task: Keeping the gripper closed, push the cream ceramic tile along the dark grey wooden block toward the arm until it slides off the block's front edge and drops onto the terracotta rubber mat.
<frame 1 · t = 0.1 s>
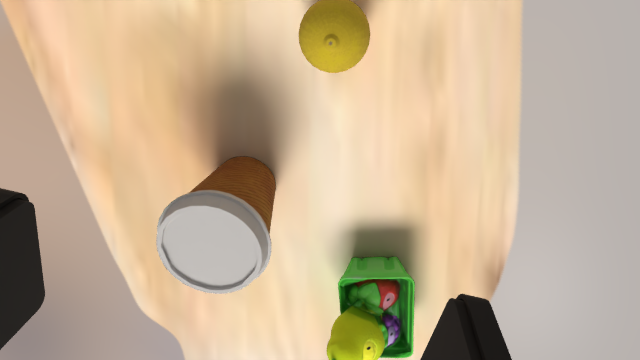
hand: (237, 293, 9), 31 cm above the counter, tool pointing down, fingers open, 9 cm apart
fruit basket: (370, 286, 49), on the counter
lemon: (337, 29, 36), on the counter
disposable coffee cup: (246, 182, 44), on the counter
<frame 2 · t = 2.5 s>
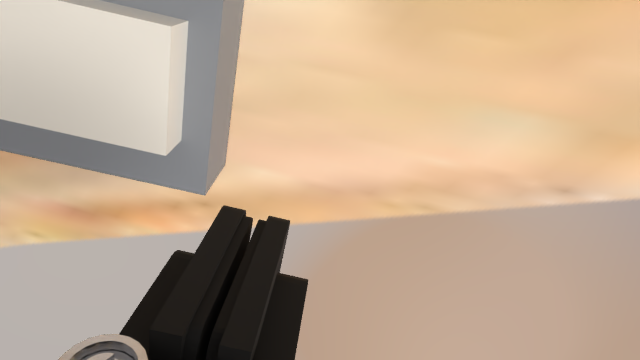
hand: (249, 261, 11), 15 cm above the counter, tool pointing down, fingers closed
grey block: (97, 41, 24), on the counter
tile: (93, 63, 20), point 4 cm above the counter, touching grey block
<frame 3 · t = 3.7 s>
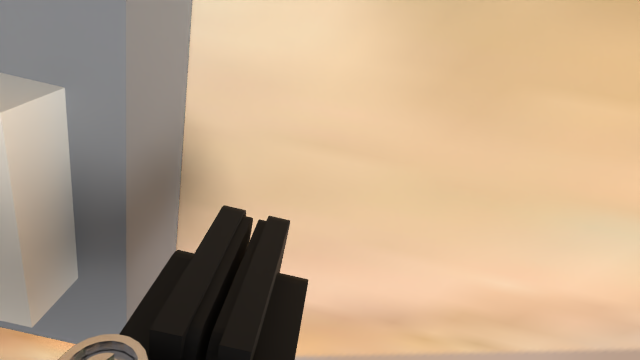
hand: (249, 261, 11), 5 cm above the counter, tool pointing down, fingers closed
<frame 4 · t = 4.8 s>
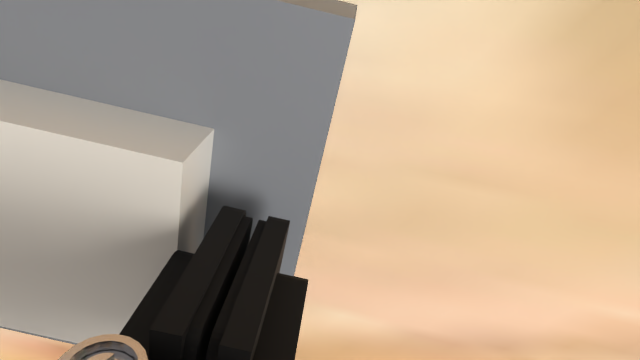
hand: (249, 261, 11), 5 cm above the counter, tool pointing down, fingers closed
grey block: (95, 130, 15), on the counter
tile: (42, 193, 11), point 4 cm above the counter, touching grey block, gripper
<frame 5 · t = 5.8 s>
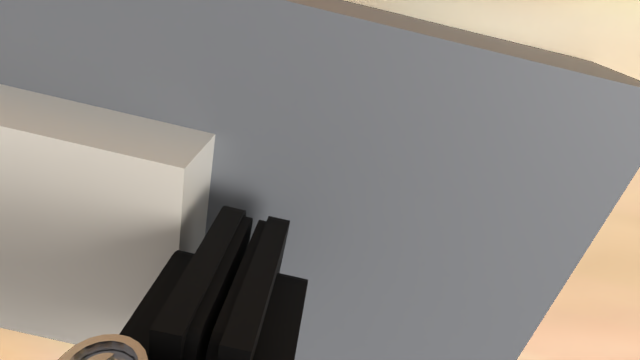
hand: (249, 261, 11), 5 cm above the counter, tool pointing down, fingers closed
grey block: (292, 174, 15), on the counter
tile: (45, 196, 12), point 4 cm above the counter, touching grey block, gripper
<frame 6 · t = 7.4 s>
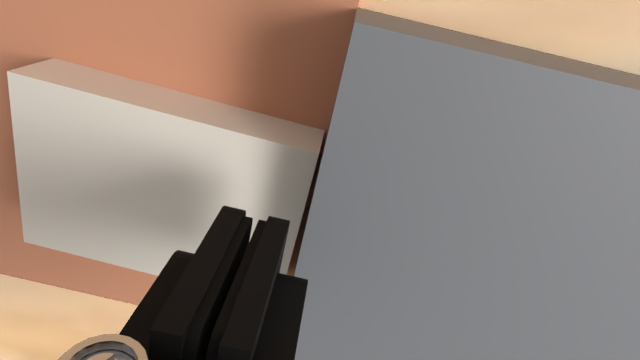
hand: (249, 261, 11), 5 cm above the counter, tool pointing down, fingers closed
grey block: (530, 233, 15), on the counter
mat: (138, 141, 15), on the counter
tile: (182, 174, 15), resting on mat
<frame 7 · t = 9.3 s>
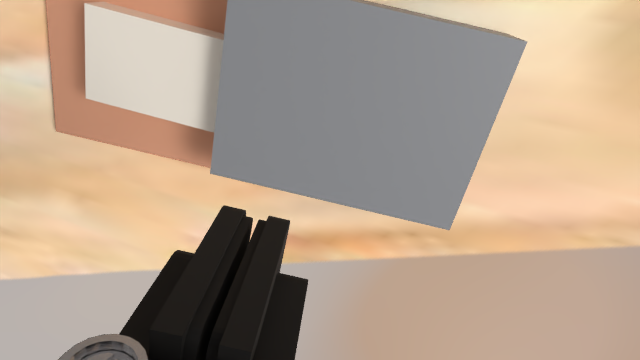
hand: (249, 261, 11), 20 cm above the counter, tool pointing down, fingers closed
grey block: (353, 97, 28), on the counter
mat: (144, 48, 28), on the counter
tile: (167, 65, 28), resting on mat
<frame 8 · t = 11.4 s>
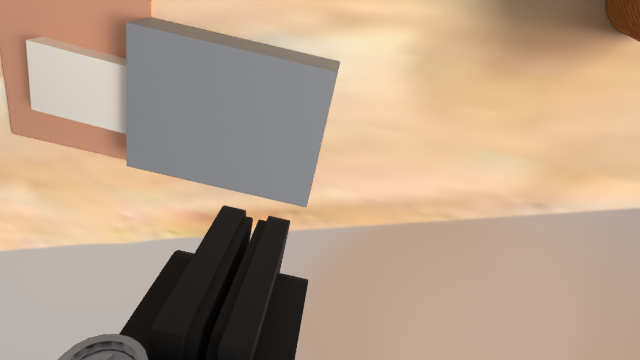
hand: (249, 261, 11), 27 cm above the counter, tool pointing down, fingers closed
grey block: (237, 108, 37), on the counter
mat: (77, 70, 37), on the counter
tile: (94, 84, 37), resting on mat
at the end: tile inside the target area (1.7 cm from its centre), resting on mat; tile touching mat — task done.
